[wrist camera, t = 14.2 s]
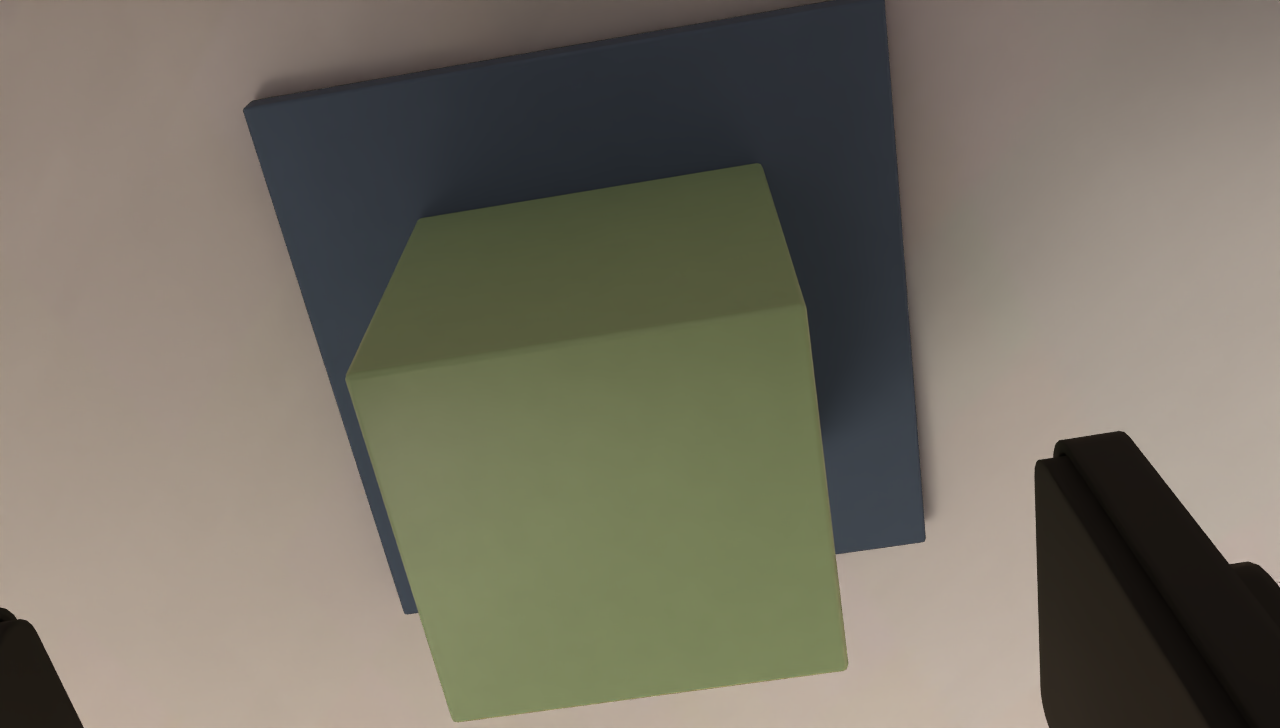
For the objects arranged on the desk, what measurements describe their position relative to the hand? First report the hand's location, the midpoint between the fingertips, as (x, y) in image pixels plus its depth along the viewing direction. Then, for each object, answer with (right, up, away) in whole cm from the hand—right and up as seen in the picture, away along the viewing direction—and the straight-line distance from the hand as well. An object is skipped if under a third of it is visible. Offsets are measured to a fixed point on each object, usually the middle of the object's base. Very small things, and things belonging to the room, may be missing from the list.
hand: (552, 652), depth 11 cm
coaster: (0, +3, +6) cm, 6 cm away
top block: (+1, +3, +5) cm, 6 cm away
